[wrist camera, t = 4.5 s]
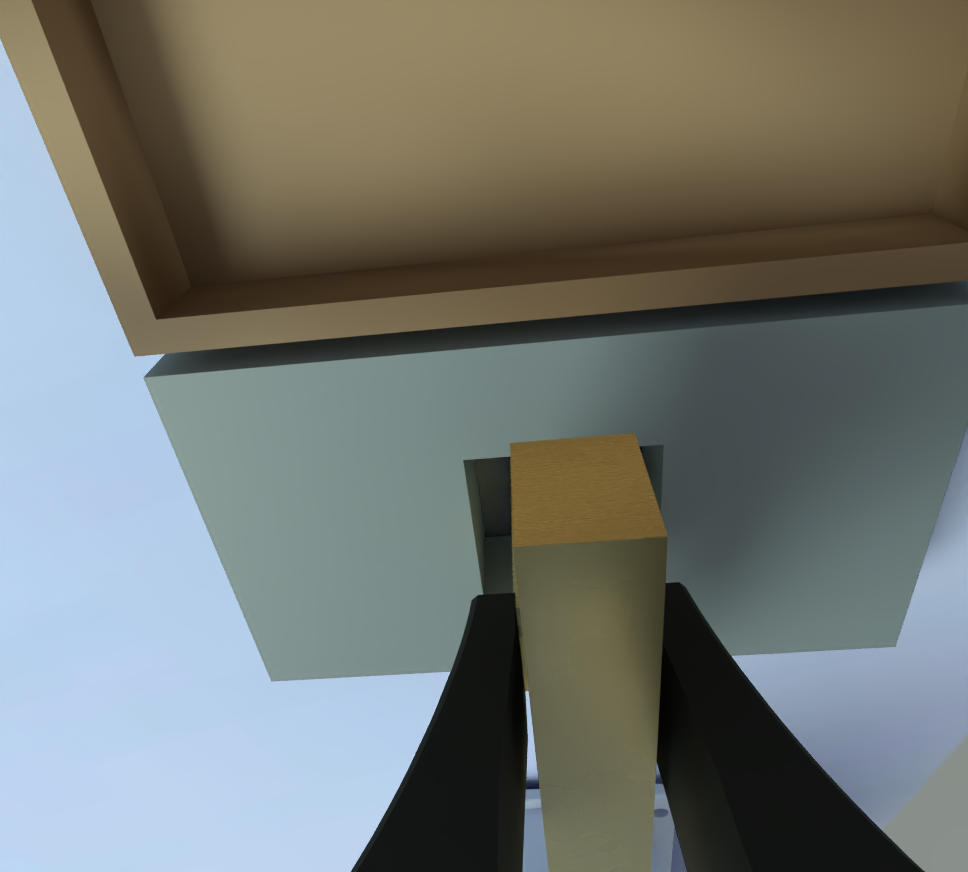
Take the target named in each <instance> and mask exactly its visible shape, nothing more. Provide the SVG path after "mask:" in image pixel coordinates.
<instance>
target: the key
mask: <svg viewBox="0 0 968 872" xmlns="http://www.w3.org/2000/svg"><path fill="white" fill-rule="evenodd" d="M510 457H511V459H510V491H511V528H512V565H513V593H515V601H516V615H517V623H518V632H519V641H520V650H521V659H522V668H523V676H524V685H525V691H529V697H530V706H531V715H532V724H533V733H534V743H535V752H536V761H537V770H538V779H539V788H540V797H541V807H542V816H543V825H544V834H545V843H546V852H547V861H548V871H549V872H651V861H652V842H653V822H654V802H655V782H656V762H657V743H658V723H659V703H660V683H661V664H662V644H663V624H664V604H665V584H666V565H667V545H668V535H667V532H666V529H665V526H664V523H663V520H662V516H661V513H660V510H659V507H658V504H657V501H656V498H655V494H654V491H653V488H652V485H651V482H650V479H649V476H648V473H647V469H646V466H645V463H644V460H643V457H642V454H641V451H640V447H639V444H638V441H637V438H636V435H635V433H629V434H617V435H604V436H591V437H579V438H566V439H554V440H541V441H529V442H516V443H510Z"/></svg>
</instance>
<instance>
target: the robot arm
mask: <svg viewBox="0 0 968 872" xmlns="http://www.w3.org/2000/svg"><path fill="white" fill-rule="evenodd" d="M527 746H528V733H527V714H526V695H525V685H524V676H523V668H522V659H521V650H520V641H519V632H518V623H517V615H516V601H515V593H500V594H485V595H477V596H476V597H475V598H474V599H473V600H471V605H470V610H469V615H468V619H467V623H466V627H465V630H464V634H463V637H462V640H461V643H460V646H459V649H458V652H457V655H456V658H455V661H454V664H453V667H452V670H451V672H450V675H449V677H448V680H447V682H446V685H445V687H444V690H443V692H442V695H441V697H440V700H439V703H438V705H437V708H436V710H435V712H434V715H433V717H432V719H431V722H430V724H429V726H428V728H427V730H426V732H425V735H424V737H423V739H422V741H421V743H420V745H419V747H418V750H417V752H416V754H415V756H414V758H413V760H412V762H411V765H410V767H409V769H408V771H407V773H406V775H405V777H404V779H403V781H402V783H401V785H400V787H399V788H398V790H397V792H396V794H395V796H394V798H393V800H392V802H391V804H390V805H389V807H388V809H387V811H386V813H385V814H384V816H383V818H382V820H381V822H380V823H379V825H378V827H377V829H376V831H375V832H374V834H373V836H372V838H371V839H370V841H369V843H368V844H367V846H366V848H365V849H364V851H363V853H362V854H361V856H360V858H359V859H358V861H357V863H356V864H355V866H354V867H353V869H352V871H351V872H549V871H548V861H547V852H546V843H545V834H544V825H543V816H542V807H541V797H540V789H526V773H527ZM657 764H658V768H659V771H660V775H661V779H662V782H663V784H655V802H654V822H653V842H652V861H651V872H671V862H672V850H673V838H674V827H675V829H676V833H677V837H678V840H679V844H680V847H681V851H682V855H683V858H684V862H685V865H686V869H687V872H924V871H923V870H922V869H921V868H920V867H919V866H918V865H917V864H916V863H914V862H913V861H912V860H911V859H910V858H909V857H908V856H907V855H906V854H905V853H904V852H903V851H902V850H901V849H900V848H899V847H898V846H897V845H896V844H895V843H894V842H893V841H892V840H891V839H890V838H889V837H888V836H887V835H886V834H885V833H884V832H883V831H882V830H881V829H880V828H879V827H878V826H877V825H876V824H875V823H874V822H873V821H872V820H871V819H870V818H869V817H868V816H867V815H866V814H865V813H864V812H863V811H862V810H861V809H860V808H859V807H858V806H857V805H856V804H855V803H854V802H853V801H852V800H851V799H850V797H849V796H848V795H847V794H846V793H845V792H844V791H843V790H842V789H841V788H840V787H839V786H838V785H837V784H836V783H835V782H834V780H833V779H832V778H831V777H830V776H829V775H828V774H827V773H826V772H825V771H824V770H823V768H822V767H821V766H820V765H819V764H818V763H817V762H816V761H815V759H814V758H813V757H812V756H811V755H810V754H809V753H808V751H807V750H806V749H805V748H804V747H803V746H802V744H801V743H800V742H799V741H798V740H797V739H796V737H795V736H794V735H793V734H792V733H791V732H790V730H789V729H788V728H787V727H786V726H785V725H784V723H783V722H782V721H781V720H780V718H779V717H778V716H777V715H776V714H775V712H774V711H773V710H772V709H771V707H770V706H769V705H768V704H767V702H766V701H765V700H764V699H763V697H762V696H761V695H760V693H759V692H758V691H757V689H756V688H755V687H754V686H753V684H752V683H751V682H750V680H749V679H748V678H747V677H746V675H745V674H744V673H743V671H742V670H741V669H740V667H739V666H738V665H737V663H736V662H735V661H734V659H733V658H732V656H731V655H730V654H729V652H728V651H727V649H726V648H725V647H724V645H723V644H722V642H721V641H720V639H719V638H718V637H717V635H716V634H715V632H714V631H713V629H712V628H711V626H710V625H709V623H708V622H707V620H706V619H705V617H704V616H703V614H702V613H701V611H700V610H699V608H698V606H697V605H696V603H695V602H694V600H693V598H692V597H691V595H690V593H689V592H688V590H687V588H686V587H685V586H684V585H683V584H681V583H680V582H673V583H666V584H665V604H664V624H663V644H662V664H661V683H660V703H659V723H658V743H657Z"/></svg>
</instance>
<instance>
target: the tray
mask: <svg viewBox="0 0 968 872" xmlns="http://www.w3.org/2000/svg"><path fill="white" fill-rule="evenodd" d="M0 39H1V41H2V44H3V46H4V48H5V51H6V53H7V55H8V58H9V60H10V63H11V65H12V67H13V70H14V72H15V74H16V77H17V79H18V81H19V84H20V86H21V89H22V91H23V93H24V96H25V98H26V100H27V103H28V105H29V108H30V110H31V112H32V115H33V117H34V119H35V122H36V124H37V127H38V129H39V131H40V134H41V136H42V138H43V141H44V143H45V145H46V148H47V150H48V153H49V155H50V157H51V160H52V162H53V164H54V167H55V169H56V172H57V174H58V176H59V179H60V181H61V183H62V186H63V188H64V191H65V193H66V195H67V198H68V200H69V202H70V205H71V207H72V210H73V212H74V214H75V217H76V219H77V221H78V224H79V226H80V228H81V231H82V233H83V236H84V238H85V240H86V243H87V245H88V247H89V250H90V252H91V255H92V257H93V259H94V262H95V264H96V266H97V269H98V271H99V274H100V276H101V278H102V281H103V283H104V285H105V288H106V290H107V292H108V295H109V297H110V300H111V302H112V304H113V307H114V309H115V311H116V314H117V316H118V319H119V321H120V323H121V326H122V328H123V330H124V333H125V335H126V338H127V340H128V342H129V345H130V347H131V349H132V352H133V354H134V356H145V355H156V354H167V353H178V352H189V351H200V350H211V349H222V348H233V347H244V346H255V345H265V344H276V343H287V342H298V341H309V340H320V339H331V338H342V337H353V336H364V335H375V334H386V333H397V332H408V331H419V330H430V329H441V328H452V327H462V326H473V325H484V324H495V323H506V322H517V321H528V320H539V319H550V318H561V317H572V316H583V315H594V314H605V313H616V312H627V311H638V310H648V309H659V308H670V307H681V306H692V305H703V304H714V303H725V302H736V301H747V300H758V299H769V298H780V297H791V296H802V295H813V294H824V293H834V292H845V291H856V290H867V289H878V288H889V287H900V286H911V285H922V284H933V283H944V282H955V281H966V280H968V0H0Z"/></svg>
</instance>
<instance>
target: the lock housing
mask: <svg viewBox="0 0 968 872" xmlns="http://www.w3.org/2000/svg"><path fill="white" fill-rule="evenodd" d="M144 380H145V383H146V385H147V387H148V390H149V392H150V394H151V397H152V399H153V402H154V404H155V406H156V409H157V411H158V413H159V416H160V418H161V421H162V423H163V425H164V428H165V430H166V432H167V435H168V437H169V439H170V442H171V444H172V447H173V449H174V451H175V454H176V456H177V458H178V461H179V463H180V466H181V468H182V470H183V473H184V475H185V477H186V480H187V482H188V485H189V487H190V489H191V492H192V494H193V496H194V499H195V501H196V503H197V506H198V508H199V511H200V513H201V515H202V518H203V520H204V522H205V525H206V527H207V530H208V532H209V534H210V537H211V539H212V541H213V544H214V546H215V549H216V551H217V553H218V556H219V558H220V560H221V563H222V565H223V568H224V570H225V572H226V575H227V577H228V579H229V582H230V584H231V586H232V589H233V591H234V594H235V596H236V598H237V601H238V603H239V605H240V608H241V610H242V613H243V615H244V617H245V620H246V622H247V624H248V627H249V629H250V632H251V634H252V636H253V639H254V641H255V643H256V646H257V648H258V650H259V653H260V655H261V658H262V660H263V662H264V665H265V667H266V669H267V672H268V674H269V677H270V679H271V681H288V680H306V679H324V678H342V677H359V676H377V675H395V674H413V673H431V672H449V671H451V670H452V667H453V664H454V661H455V658H456V655H457V652H458V649H459V646H460V643H461V640H462V637H463V634H464V630H465V627H466V623H467V619H468V615H469V610H470V605H471V600H473V599H474V598H475V597H476V596H477V595H485V594H500V593H513V565H512V535H508V536H494V537H485V531H484V524H483V517H482V509H481V502H480V495H479V487H478V480H477V473H476V466H475V459H485V458H498V457H510V443H516V442H529V441H541V440H554V439H566V438H579V437H591V436H604V435H617V434H629V433H635V435H636V438H637V441H638V444H639V447H640V446H642V457H643V460H644V463H645V466H646V469H647V473H648V476H649V479H650V482H651V485H652V488H653V491H654V494H655V498H656V501H657V504H658V507H659V510H660V513H661V516H662V520H663V523H664V526H665V529H666V532H667V535H668V545H667V565H666V583H673V582H680V583H681V584H683V585H684V586H685V587H686V588H687V590H688V592H689V593H690V595H691V597H692V598H693V600H694V602H695V603H696V605H697V606H698V608H699V610H700V611H701V613H702V614H703V616H704V617H705V619H706V620H707V622H708V623H709V625H710V626H711V628H712V629H713V631H714V632H715V634H716V635H717V637H718V638H719V639H720V641H721V642H722V644H723V645H724V647H725V648H726V649H727V651H728V652H729V654H730V655H731V656H736V655H754V654H772V653H790V652H807V651H825V650H843V649H861V648H879V647H895V646H896V643H897V640H898V637H899V634H900V631H901V628H902V625H903V622H904V619H905V616H906V612H907V609H908V606H909V603H910V600H911V597H912V594H913V591H914V588H915V585H916V582H917V579H918V576H919V573H920V569H921V566H922V563H923V560H924V557H925V554H926V551H927V548H928V545H929V542H930V539H931V536H932V533H933V530H934V527H935V523H936V520H937V517H938V514H939V511H940V508H941V505H942V502H943V499H944V496H945V493H946V490H947V487H948V484H949V481H950V477H951V474H952V471H953V468H954V465H955V462H956V459H957V456H958V453H959V450H960V447H961V444H962V441H963V438H964V434H965V431H966V428H967V425H968V280H966V281H955V282H944V283H933V284H922V285H911V286H900V287H889V288H878V289H867V290H856V291H845V292H834V293H824V294H813V295H802V296H791V297H780V298H769V299H758V300H747V301H736V302H725V303H714V304H703V305H692V306H681V307H670V308H659V309H648V310H638V311H627V312H616V313H605V314H594V315H583V316H572V317H561V318H550V319H539V320H528V321H517V322H506V323H495V324H484V325H473V326H462V327H452V328H441V329H430V330H419V331H408V332H397V333H386V334H375V335H364V336H353V337H342V338H331V339H320V340H309V341H298V342H287V343H276V344H265V345H255V346H244V347H233V348H222V349H211V350H200V351H189V352H178V353H167V354H165V355H164V356H163V357H162V358H161V359H160V360H159V361H158V363H157V364H156V365H155V366H154V367H153V368H152V369H151V370H150V371H149V372H148V373H147V374H146V375H145V377H144Z"/></svg>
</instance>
